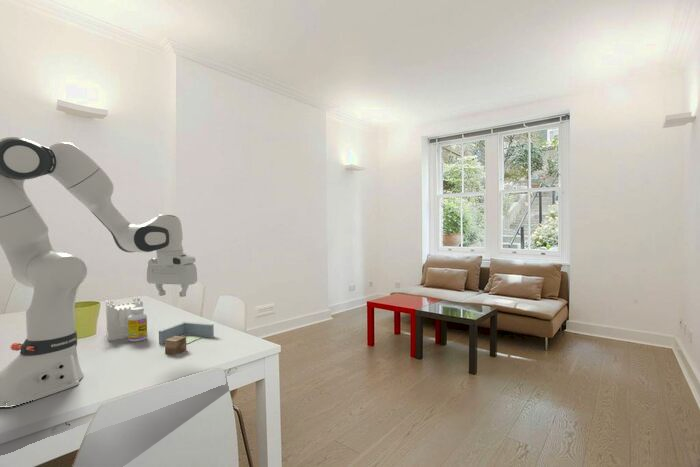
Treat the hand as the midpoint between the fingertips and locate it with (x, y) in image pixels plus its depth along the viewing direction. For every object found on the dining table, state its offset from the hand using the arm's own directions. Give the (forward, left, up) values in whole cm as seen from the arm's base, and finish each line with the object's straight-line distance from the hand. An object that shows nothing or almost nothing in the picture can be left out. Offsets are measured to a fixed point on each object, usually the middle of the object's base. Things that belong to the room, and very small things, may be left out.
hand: (172, 295), depth 132 cm
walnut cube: (0, -1, -21) cm, 21 cm away
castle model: (+11, +38, -21) cm, 45 cm away
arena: (+13, +5, -21) cm, 24 cm away
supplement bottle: (+7, +25, -21) cm, 33 cm away
